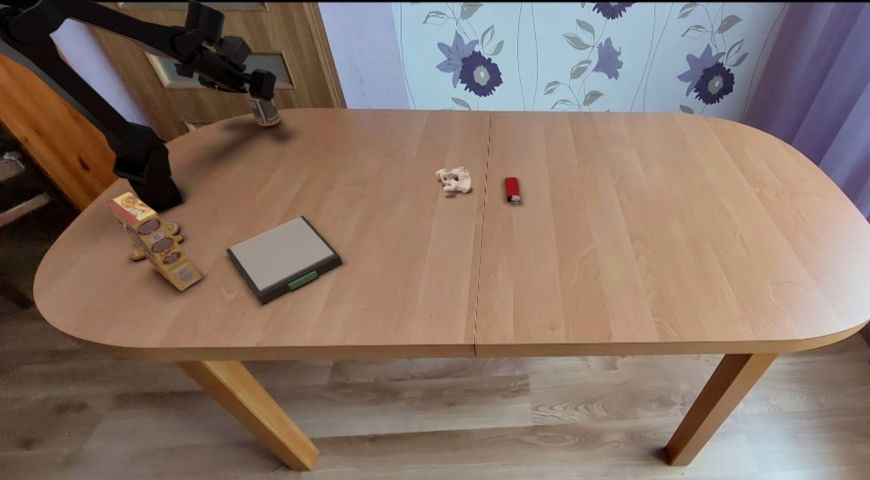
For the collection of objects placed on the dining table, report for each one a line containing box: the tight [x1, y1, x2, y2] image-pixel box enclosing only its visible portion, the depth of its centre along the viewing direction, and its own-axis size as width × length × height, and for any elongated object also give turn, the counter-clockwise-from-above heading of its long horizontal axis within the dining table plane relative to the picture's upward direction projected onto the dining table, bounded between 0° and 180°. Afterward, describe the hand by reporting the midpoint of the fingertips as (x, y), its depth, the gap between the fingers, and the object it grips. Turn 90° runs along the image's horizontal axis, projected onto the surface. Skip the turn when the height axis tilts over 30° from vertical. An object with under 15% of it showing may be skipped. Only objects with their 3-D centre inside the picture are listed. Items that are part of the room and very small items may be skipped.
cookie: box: [129, 222, 183, 261], centre depth 88 cm, size 8×1×10 cm
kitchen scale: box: [225, 215, 343, 305], centre depth 85 cm, size 15×16×3 cm
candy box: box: [104, 191, 202, 292], centre depth 78 cm, size 9×4×15 cm, turn 54°
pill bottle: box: [245, 84, 281, 127], centre depth 114 cm, size 6×6×10 cm
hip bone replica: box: [435, 166, 472, 194], centre depth 101 cm, size 8×4×7 cm
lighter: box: [504, 176, 521, 205], centre depth 101 cm, size 3×1×8 cm
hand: (263, 93), depth 114 cm, fingers closed on pill bottle, 6 cm apart
